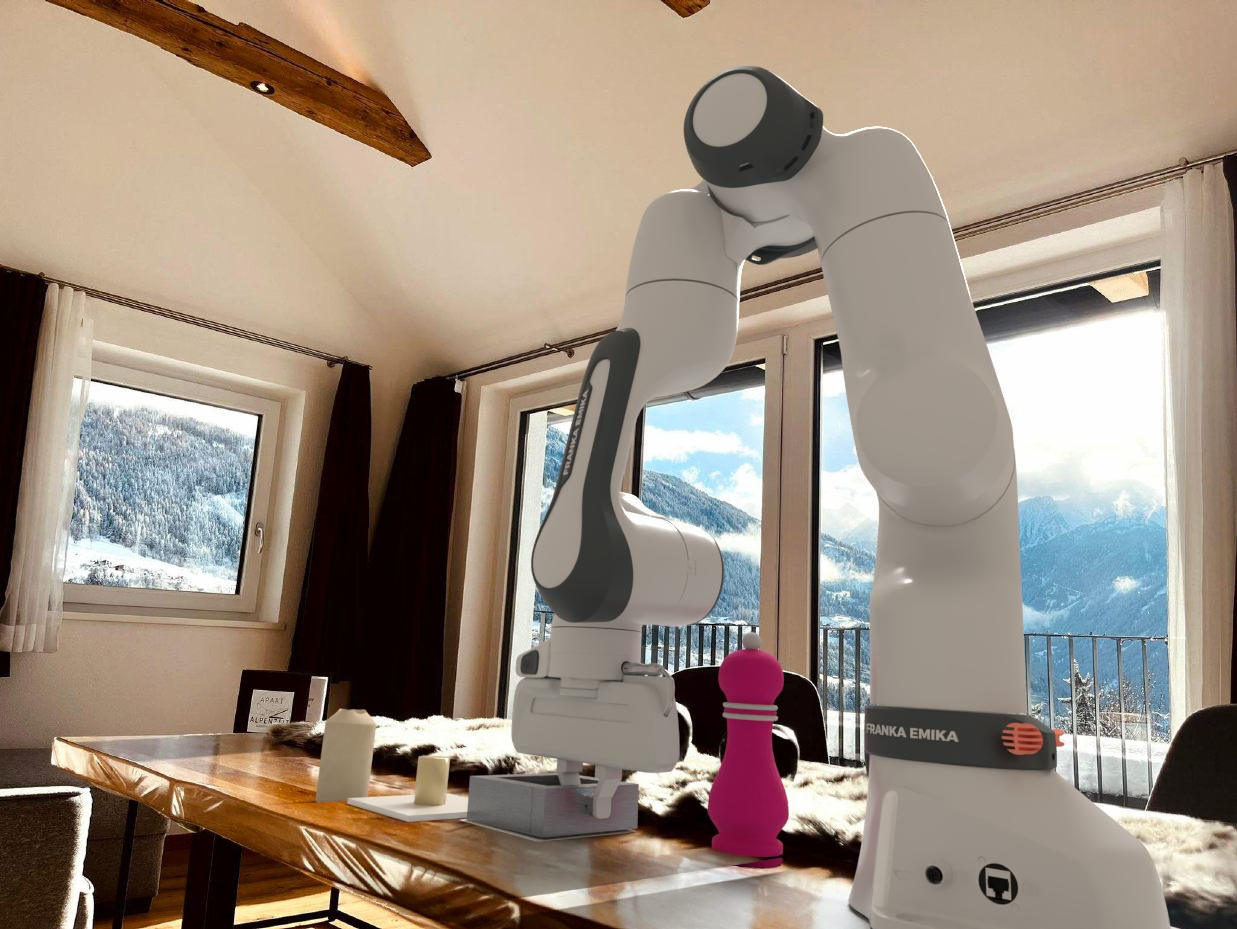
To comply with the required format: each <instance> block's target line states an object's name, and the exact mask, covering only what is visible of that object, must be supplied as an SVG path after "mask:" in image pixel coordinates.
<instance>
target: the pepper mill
mask: <svg viewBox="0 0 1237 929" xmlns="http://www.w3.org/2000/svg"><path fill="white" fill-rule="evenodd" d="M741 643H742V646H743V648H744V649H738V650H735V651H732V652H730V653H729V654H728V655H726V656H725V657H724V658H723V660H722V662H721V664H720V665H719V671H718V676H717V678H718V684H719V688H720V689H721V691H722V692H723V693H724V695H725V697H726V700H727V701H725V702H723V703H722V706H723V707H724V709H723V713H722V717H723V718H726V723H727V724H726V727H727V738H726V748H725V751H724V755H723V759H722V762H721V764H720V765H719V766H720V767H719V769H718V771H717V773H716V775H715V778H714V780H713V782H712V784H711V788H710V791H709V794H708V799H707V800H708V801H707V808H706V809H707V814H708V816H709V818H710V820H711V821H712V823H713V825H714V826H715V828H716V829H717V831H718V834H716V835H714V836H713V837H712V838H711V848H712V849H713V850H715V851H717V852H720V853H724V854H729V855H733V856H734V855H735V856H741V857H752V858H753V857H754V858H757V857H758V858H770V857H771V859H766V860H765V859H764V860H758V861H750V862H745V863H744V862H743V863H738V864H737V863H736V864H732V865H729V866H731V867H737V868H745V869H757V870H758V869H774V868H778V867H781V866H782V865H783V863H784V858H783V857H779V856H782V855H783V854H784V850H783V849H784V844H783V843H782V841H781V840H779V839H778V838H777V837H778V835H779V833H780V832H781V831H782V830H783V828H784V827H785V826H786V824H787V823H788V821H789V817H790V808H789V800H788V795H787V791H786V788H785V785H784V782H783V781H782V778H781V776H780V773H779V769H778V767H777V765H776V764H777V763H776V761H775V756H774V752H773V738H772V737H773V735H772V734H773V727H774V722H777V721H778V719H779V716H777V714H778V712H777V710H778V709H779V707H778V706H777V705H775V700H776V699H777V697H778V696H779V695H780V694H781V693H782V691H783V689H784V683H785V682H784V681H785V678H784V677H785V676H784V671H783V667H782V665H781V663H780V662H779V660H778V659H777V658H776V657H774V655H772V654H771V653H769V652H766V651H764V650H761V649H760V648H761V646H762V638H761V636H760V635H759V634H758V633H756V632H754V631H749V632H746V633H745V634H744V635H743V637H742V640H741ZM772 857H778V858H772Z"/></svg>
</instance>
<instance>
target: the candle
mask: <svg viewBox="0 0 1237 929" xmlns="http://www.w3.org/2000/svg"><path fill="white" fill-rule="evenodd" d="M376 729H377V723H376V721H375V720H374V719H373V717H372V716H371V715H370V714H369V713H368V712H367V710H366V709H354V708H353V709H346V708H345V709H344V708H339V709H338V710H337V711H336V712H335V713H333V715H331V716H330V717H329V718H328V719H327V720H326V721H325V723H324V730H323V739H322V745H321V746H322V747H321V754H320V763H319V769H318V777H317V785H316V793H315V803H331V802H335V803H337V802H348V798H361V797H369V789H370V780H371V772H372V762H373V755H374V747H375V746H374V745H375V739H376V738H375V737H376V731H377V730H376Z"/></svg>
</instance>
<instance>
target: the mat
mask: <svg viewBox="0 0 1237 929" xmlns="http://www.w3.org/2000/svg"><path fill="white" fill-rule="evenodd" d="M459 821H461V822H464V823H467V824H472V825H475V826H479V827H483V828H486V829H490V830H494V831H497V832H500V833H505V834H508V835H511V836H516V837H519V838H523V839H526V840H529V841H533V842H535V843H536V842H537V843H538V842H540V843H541V842H550V841H558V840H568V839H578V838H590V837H599V836H607V835H617V834H627V833H628V834H629V833H636V832H637V831H636V830H634V829H633V830H632V829H625V830H615V831H605V832H595V833H584V834H574V835H564V836H554V837H544V838H542V837H538V836H533V835H529V834H525V833H520V832H516V831H512V830H508V829H503V828H499V827H495V826H490V825H486V824H482V823H477V822H473V821H469V820H467V818H462V819H459Z"/></svg>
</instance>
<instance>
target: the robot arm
mask: <svg viewBox="0 0 1237 929" xmlns="http://www.w3.org/2000/svg"><path fill="white" fill-rule="evenodd" d="M684 116H685V117H684V119H683V120H684V121H683V139H684V143H685V147H686V151H687V154H688V156H689V159H690V162H691V163H692V165H693V168H694V169H695V171H696V172H697V174H698V175H699V176H700V177H701V179H703V180H701V181H700V183H699V184H697V185H696V186H693V187H692V188H691V189H677V190H673V191H672V190H671V191H669V192H666V193H664V194H661V195H660V196H658V197H656V198H655V199H654V200H653V201H652V202H651V203H649V205H647V207H646V208H645V210H644V212H643V214H642V216H641V219H640V222H639V227H638V229H637V232H636V236H635V240H634V244H633V248H632V252H631V257H630V262H629V266H628V272H627V273H628V274H627V279H626V287H625V288H626V289H625V295H624V297H625V298H624V299H625V300H624V307H623V311H622V315H621V319H620V322H619V323H618V325H617V328H616V329H615V331H611V332H609V333H607V334H606V335H604V336H603V337H602V338H601V339H600V340H599V341H598V343H597V344H596V346H595V348H594V350H593V351H592V354H591V356H590V358H589V361H588V364H587V365H586V366H587V367H586V369H585V371H584V375H583V379H582V382H581V385H580V390H579V393H578V397H577V400H576V404H575V408H574V412H573V415H572V416H573V417H572V420H571V425H570V428H569V433H568V436H567V438H566V439H567V440H566V444H565V448H564V451H563V455H562V458H561V459H562V461H561V463H560V468H559V472H558V475H557V480H556V483H555V487H554V492H553V495H552V498H551V501H550V504H549V506H548V508H547V512H545V516H544V517H543V518H544V519H543V520H542V523H541V525H540V527H539V530H538V532H537V535H536V537H535V539H534V540H535V541H534V543H533V547H532V551H531V556H530V557H531V558H530V569H531V570H530V571H531V575H532V579H533V582H534V584H535V587H536V588H537V589H536V590H538V593H539V595H540V596H541V598H542V600H543V601H544V602H545V604H546V605H547V607H548V608H549V609H550V610H551V611H552V612H553V614H554V615H553V618H552V620H551V624H550V634H549V637H550V638H549V639H546V640H544V641H543V642H541V643H539V644H538V645H536V646H534V647H532V648H531V649H528V650H527V651H524V652H522V653H520V654H519V655H518V656H516V660H515V674H516V676H517V677H520V678H521V679H520V680H519V681H518V683H517V685H516V687H515V690H514V695H513V702H512V713H511V733H510V734H511V736H510V737H511V742H512V746H513V747H514V750H515V751H516V753H517V754H522V755H523V754H524V755H530V756H536V757H542V758H549V759H556V773H557V774H558V777H559V780H560V784H561V785H578V784H581V782H580V777H579V775H580V774H579V773H582V772H583V769H584V768H583V766H584V764H588V765H593V766H594V765H595V769H594V771H595V772H594V778H599V781H598V783H597V786H596V789H595V791H594V794H593V796H587V799H586V804H587V808H586V814H587V815H588V816H590V817H594V818H598V819H601V818H608V817H609V816H610V813H611V797H613V795H614V793H615V791H616V789H617V787H618V785H619V783H620V781H622V779H623V770H627V771H633V772H641V773H646V774H647V773H648V774H654V773H655V774H656V773H658V774H661V773H671V772H673V770H674V769H675V768H676V767H677V764H678V762H679V760H680V730H679V729H680V728H679V717H678V709H677V707H678V706H677V702H676V698H675V692H676V691H675V690H676V686H675V679H674V678H673V677H672V675H671V673H670V672H669V671H668V670H667V669H665V667H664V665H662V664H660V663H655V662H654V663H653V662H651V663H641V658H642V636H643V634H642V630H643V629H642V626H652V625H653V626H661V627H662V626H663V627H674V628H676V627H677V628H678V627H683V626H688V625H689V626H690V625H696V624H697V623H700V622H702V621H703V620H704V619H705V618H707V617H708V616H709V614H711V613H712V611H713V610H714V609H715V607H716V606H717V604H718V602H719V599H720V597H721V594H722V592H723V590H724V589H723V588H724V583H725V563H724V558H723V555H722V551H721V549H720V548H721V547H720V546H719V545H718V543H717V541H716V539H715V538H714V536H712V534H710V533H709V532H708V531H706V530H704V529H702V528H699V527H698V526H695V525H693V524H689V523H686V522H683V521H679V520H676V519H672V518H670V517H667V516H664V515H662V514H660V513H657V512H655V511H654V510H651V509H650V508H648V507H646V506H645V505H644V503H643V502H642V501H641V500H640V499H639V498H638V497H637V496H635V495H634V494H631V493H628V492H623V491H622V490H621V489H622V486H623V485H622V484H623V480H624V476H625V471H626V467H627V462H628V457H629V453H630V449H631V445H632V440H633V435H634V432H635V428H636V423H637V419H638V417H639V415H640V412H641V410H642V409H643V408H644V406H645V405H647V403H649V401H651V400H652V399H654V398H660V397H664V396H665V397H666V396H671V395H677V394H681V393H685V392H690V391H693V390H695V389H699V388H701V387H704V386H705V385H707V384H708V383H710V382H712V381H713V380H714V379H715V378H718V376H719V375H720V374H721V373H722V372H723V371H724V370H725V368H727V366H728V365H729V363H730V362H731V360H732V358H733V355H734V351H735V348H736V343H737V339H738V331H739V317H740V316H739V315H740V298H741V297H740V295H741V279H742V278H741V277H742V271H743V270H742V269H743V266H744V263H745V261H747V262H749V263H751V264H755V265H758V266H760V265H761V266H764V265H769V264H770V263H772V262H775V261H777V260H780V259H789V258H795V257H799V256H803V255H805V254H809V253H810V252H813V251H815V250H817V252H818V257H819V261H820V265H821V266H820V267H821V270H822V275H823V279H824V283H825V288H826V293H827V296H828V301H829V305H830V309H831V313H832V317H833V318H832V319H833V322H834V326H835V330H836V335H837V339H838V340H837V341H838V344H839V350H840V355H841V356H840V357H841V366H842V372H843V379H844V387H845V394H846V401H847V407H848V412H849V418H850V425H851V430H852V436H853V440H854V446H855V450H856V456H857V459H858V463H859V467H860V469H861V472H862V473H863V475H864V477H865V479H867V481H868V483H869V484H870V486H872V488H873V489H874V491H875V492H876V497H877V501H878V526H877V527H878V529H877V540H876V543H877V545H876V554H875V555H876V556H875V564H874V565H875V566H874V574H873V581H872V588H871V593H870V597H869V698H870V699H869V703H870V704H867V705H865V706H864V717H863V718H864V719H863V720H864V721H863V722H864V724H863V726H864V727H863V754H864V755H863V756H864V766H865V771H866V776H867V778H868V779H867V780H868V781H867V795H866V807H865V815H864V823H863V833H862V838H861V845H860V851H859V856H858V862H857V866H856V870H855V875H854V879H853V882H852V886H851V890H850V891H849V892H850V893H849V896H848V900H847V901H848V904H849V906H851V907H852V908H853V909H854V910H855V911H857V912H859V913H860V914H862V915H864V916H865V917H866V918H867V919H868V920H869V926H870V928H872V929H1180V928H1178V927H1175V926H1171V923H1170V917H1169V913H1168V908H1167V903H1166V899H1165V895H1164V891H1163V886H1162V882H1161V879H1160V876H1159V872H1158V870H1157V868H1156V865H1155V861H1154V860H1153V858H1152V856H1151V853H1150V852H1149V850H1148V849H1147V847H1146V846H1145V845H1144V844H1143V842H1141V840H1140V839H1139V838H1137V837H1136V836H1135V835H1134V834H1132V833H1131V832H1130V831H1129V830H1127V828H1125V827H1124V826H1122V825H1121V824H1120V823H1119V822H1117V820H1115V819H1114V818H1113V817H1111V816H1110V815H1108V814H1107V813H1106V812H1105V811H1104V810H1103V809H1102V808H1100V807H1099V806H1098V805H1096V804H1095V803H1094V802H1093V801H1091V800H1090V799H1089V798H1088V797H1087V796H1086V795H1085V794H1083V793H1082V792H1081V791H1080V790H1078V789H1077V788H1076V787H1074V786H1073V785H1072V784H1071V783H1070V782H1069V781H1068V780H1066V779H1065V778H1064V776H1062V775H1060V773H1058V772H1057V771H1056V770H1054V769H1055V768H1058V751H1057V750H1058V748H1059V747H1060V748H1061V747H1064V746H1065V742H1063V741H1061V740H1060V737H1062V736H1063V735H1064V734H1065V731H1064V730H1062V729H1052V728H1050V726H1047V725H1046V724H1044V723H1043V722H1042V721H1040V720H1039V719H1037V718H1035V717H1034V716H1032V715H1031V714H1028V701H1027V700H1028V697H1027V696H1028V694H1027V679H1026V678H1027V676H1026V673H1027V672H1026V655H1025V636H1024V635H1025V633H1024V630H1025V629H1024V612H1023V610H1024V609H1023V592H1022V566H1021V565H1022V564H1021V545H1020V544H1021V543H1020V524H1019V518H1020V517H1019V497H1018V475H1017V474H1018V473H1017V460H1016V451H1015V443H1014V431H1013V430H1014V429H1013V425H1012V419H1011V417H1010V413H1009V409H1008V408H1007V403H1006V401H1005V398H1004V393H1003V391H1002V389H1001V388H1002V387H1001V384H1000V382H999V379H998V374H997V372H996V370H995V369H996V368H995V366H994V363H993V360H992V358H991V354H990V351H989V348H988V344H987V342H986V338H985V337H984V336H985V335H984V333H983V330H982V328H981V324H980V322H979V321H980V320H979V318H978V317H977V316H978V315H977V313H976V310H975V307H974V303H973V299H972V297H971V293H970V289H969V286H968V283H967V280H966V276H965V273H964V269H963V265H962V262H961V258H960V255H959V252H958V248H957V244H956V241H955V238H954V234H953V231H952V227H951V224H950V222H949V218H948V215H947V212H946V209H945V205H944V204H943V200H942V198H941V196H940V193H939V191H938V188H937V186H936V184H935V181H934V178H933V176H932V174H931V173H930V171H929V169H928V167H927V166H926V163H925V161H924V159H923V157H922V156H921V154H920V153H919V151H918V149H917V148H916V146H915V144H914V143H913V142H912V141H911V140H910V138H908V137H907V136H906V135H905V134H903V133H902V132H900V131H898V130H896V129H892V128H890V127H889V128H888V127H883V126H871V127H864V128H861V129H857V130H854V131H851V132H848V133H845V134H836V133H832V132H830V131H829V130H827V129H826V128H825V127H824V112H823V111H822V109H821V108H820V107H818V106H817V105H815V104H814V103H813V102H812V101H810V100H809V99H808V98H806V97H805V96H804V95H802V94H801V93H800V92H799V91H797V89H795V88H794V87H793V86H791V85H790V84H789V83H788V82H787V81H785V80H784V79H782V78H781V77H780V76H779V75H777V74H775V73H774V72H772V71H770V70H769V69H766V68H763V67H761V66H758V65H757V66H756V65H748V64H747V65H739V66H734V67H731V68H728V69H725V70H722V71H721V72H720V73H718V74H716V75H715V76H712V77H711V78H710V79H709V80H708V81H706V82H705V83H704V84H703V85H702V87H700V88H699V89H698V91H697V92H696V94H695V95H694V97H693V98H692V100H691V102H690V104H689V105H688V107H687V110H686V113H685V115H684ZM753 257H756V258H760V259H759V260H758V259H756V258H753ZM1057 747H1058V748H1057Z"/></svg>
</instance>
